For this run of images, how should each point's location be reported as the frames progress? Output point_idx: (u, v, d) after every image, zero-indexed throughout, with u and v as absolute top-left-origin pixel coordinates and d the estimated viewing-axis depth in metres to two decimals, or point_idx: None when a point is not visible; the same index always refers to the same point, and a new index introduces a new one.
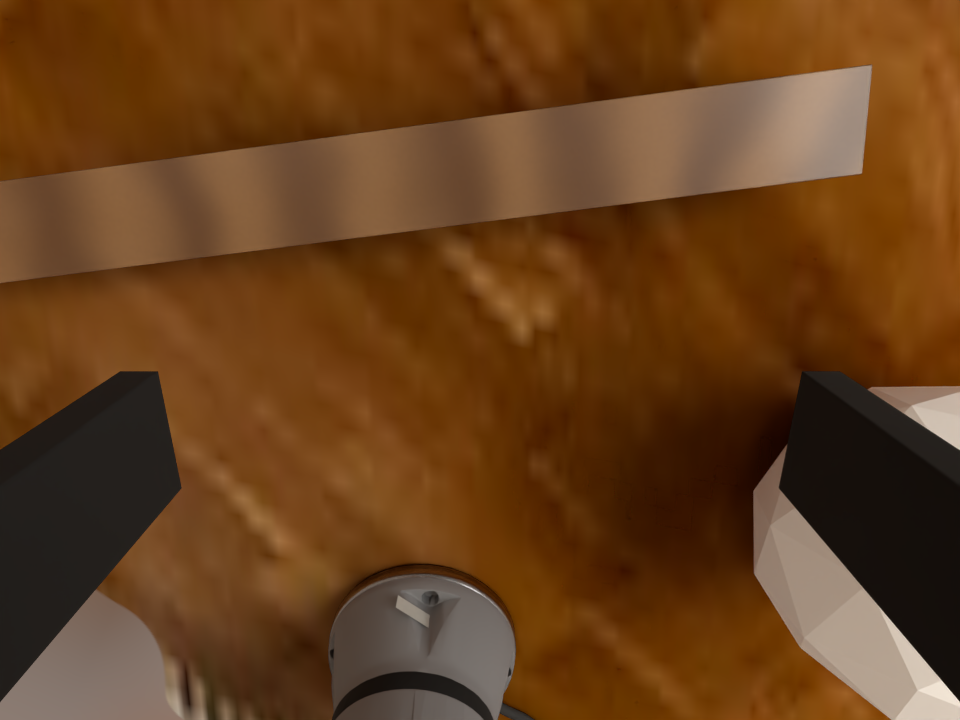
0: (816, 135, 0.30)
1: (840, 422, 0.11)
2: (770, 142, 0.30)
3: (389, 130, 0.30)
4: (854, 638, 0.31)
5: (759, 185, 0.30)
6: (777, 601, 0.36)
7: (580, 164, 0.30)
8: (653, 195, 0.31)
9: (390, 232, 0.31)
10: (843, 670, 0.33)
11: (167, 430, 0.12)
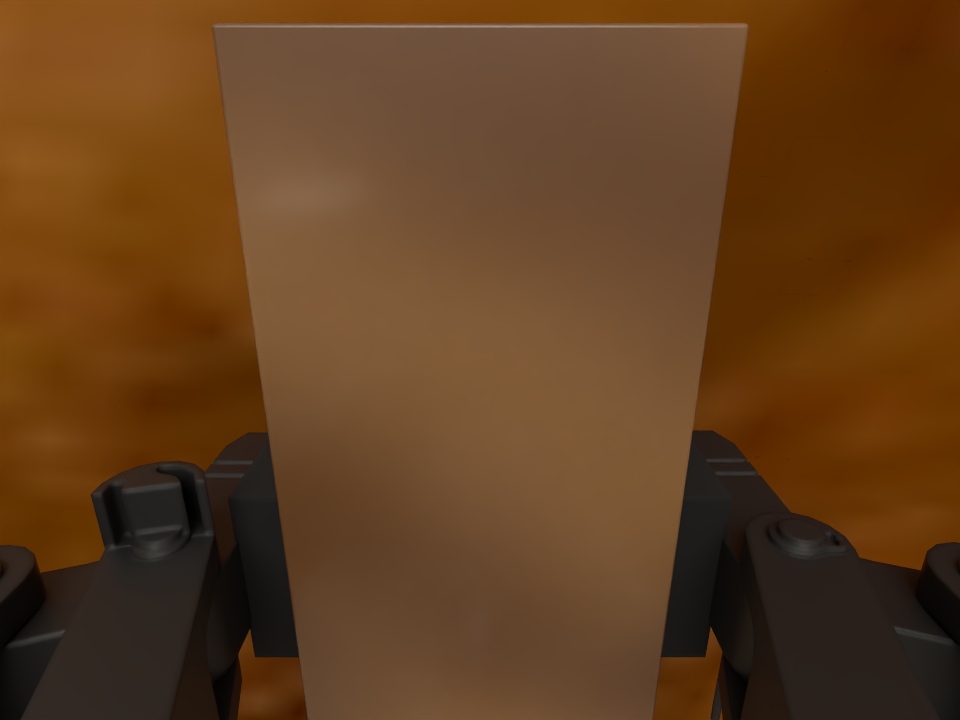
0: (516, 280, 0.06)
1: None
2: (513, 463, 0.07)
3: None
4: None
5: (678, 496, 0.07)
6: None
7: None
8: None
9: None
10: None
11: None
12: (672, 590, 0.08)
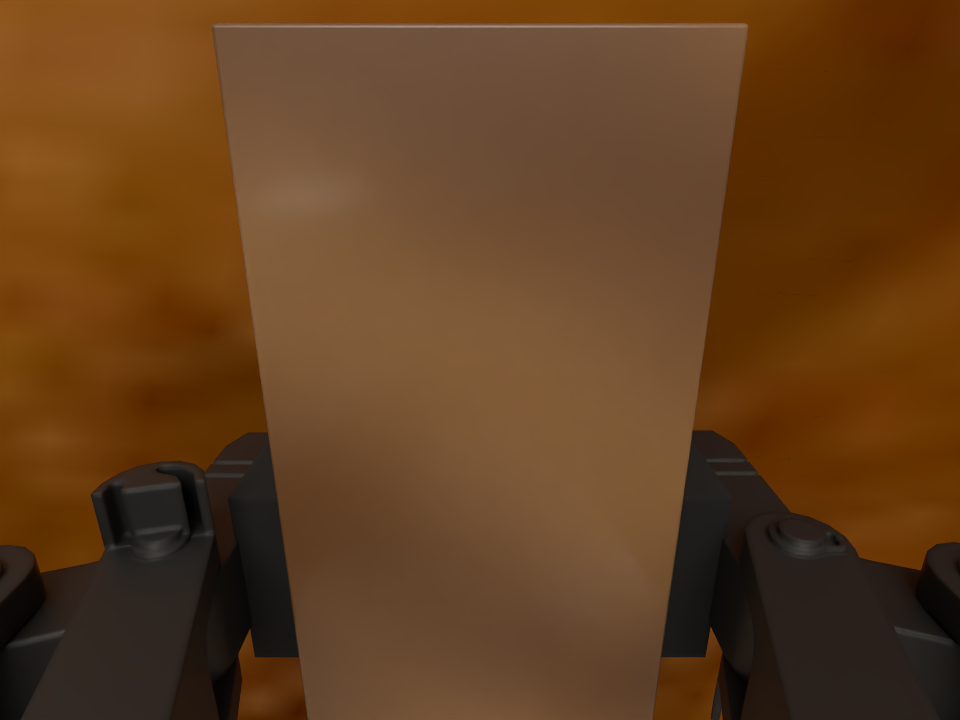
0: (515, 280, 0.06)
1: None
2: (514, 463, 0.07)
3: None
4: None
5: (678, 496, 0.07)
6: None
7: None
8: None
9: None
10: None
11: None
12: (672, 590, 0.08)
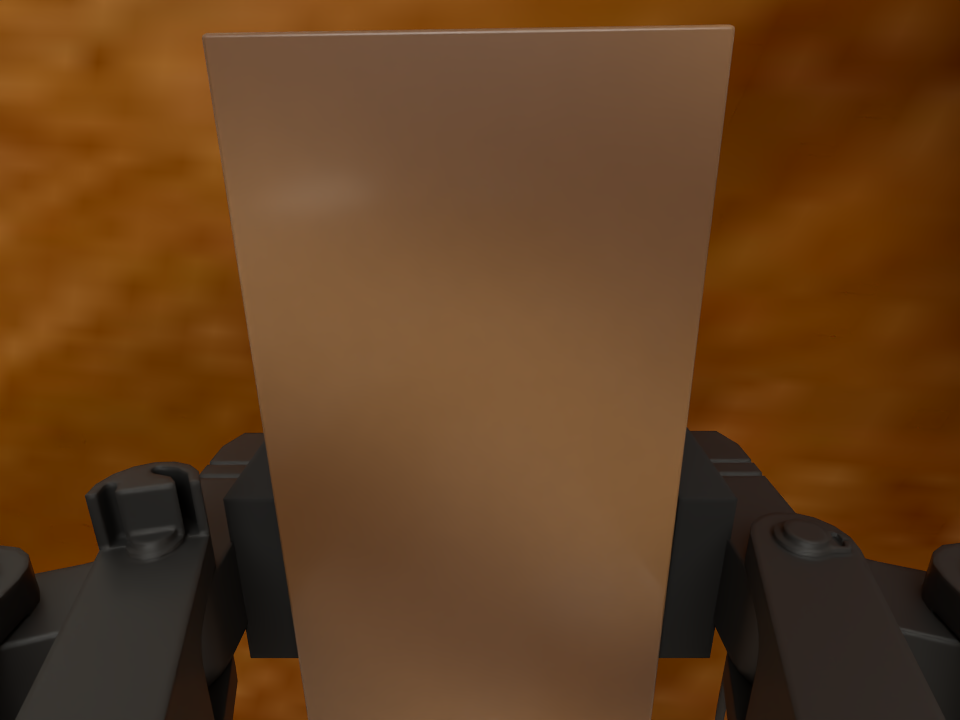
0: (505, 284, 0.06)
1: None
2: (508, 465, 0.07)
3: None
4: None
5: (672, 498, 0.07)
6: None
7: None
8: None
9: None
10: None
11: None
12: (677, 591, 0.08)
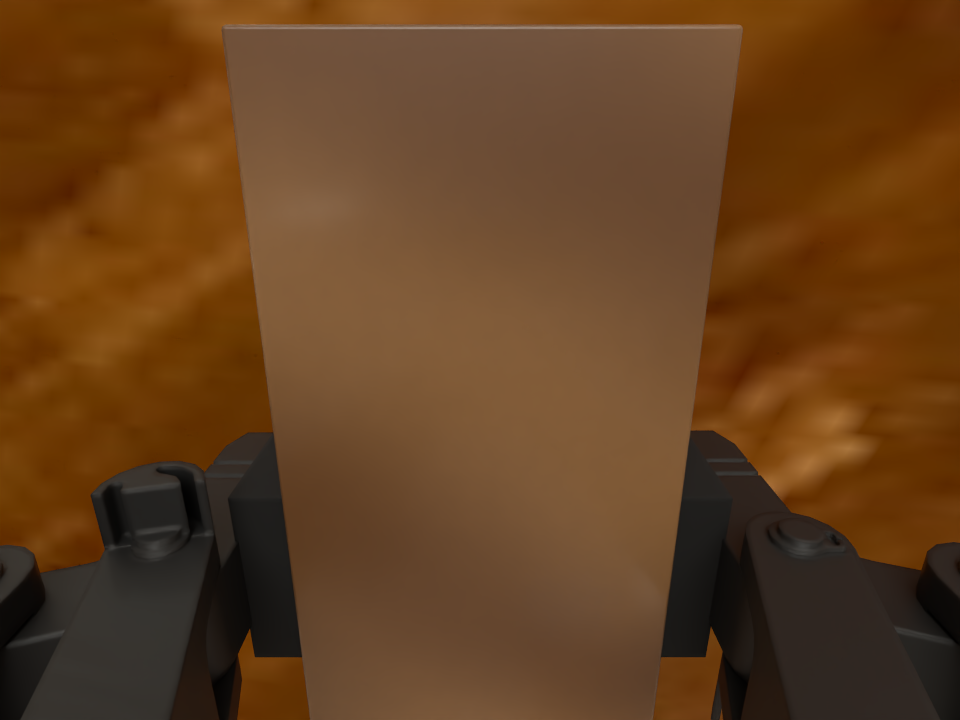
0: (516, 276, 0.07)
1: None
2: (515, 458, 0.07)
3: None
4: None
5: (677, 491, 0.07)
6: None
7: None
8: None
9: None
10: None
11: None
12: (672, 590, 0.08)
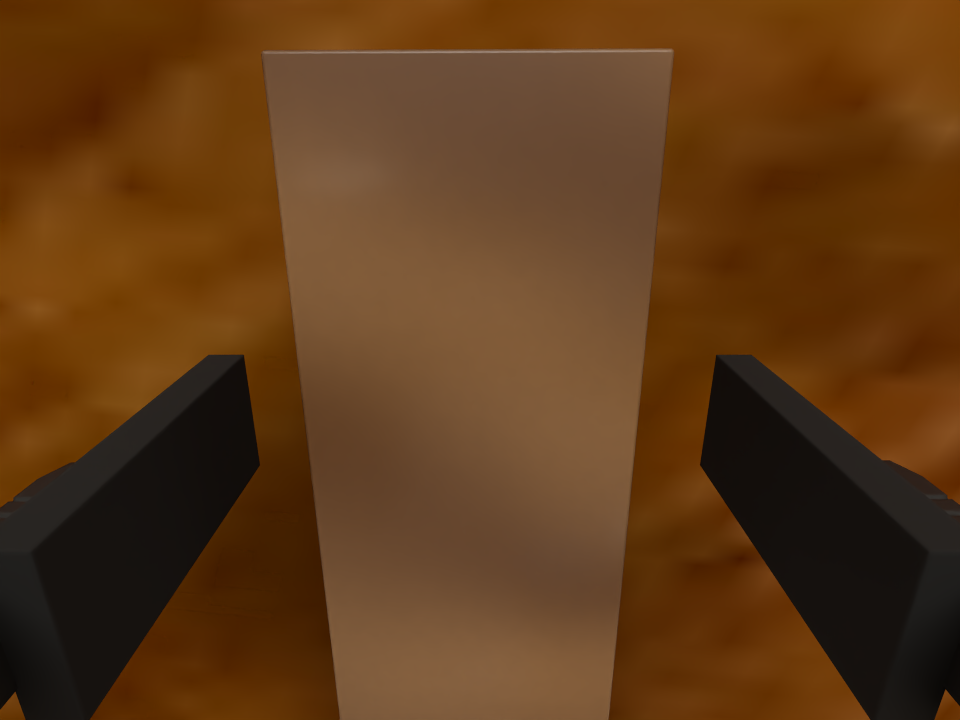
0: (497, 250, 0.08)
1: (742, 399, 0.12)
2: (498, 402, 0.09)
3: None
4: None
5: (632, 429, 0.09)
6: None
7: None
8: (598, 692, 0.11)
9: None
10: None
11: (249, 410, 0.13)
12: (908, 653, 0.07)
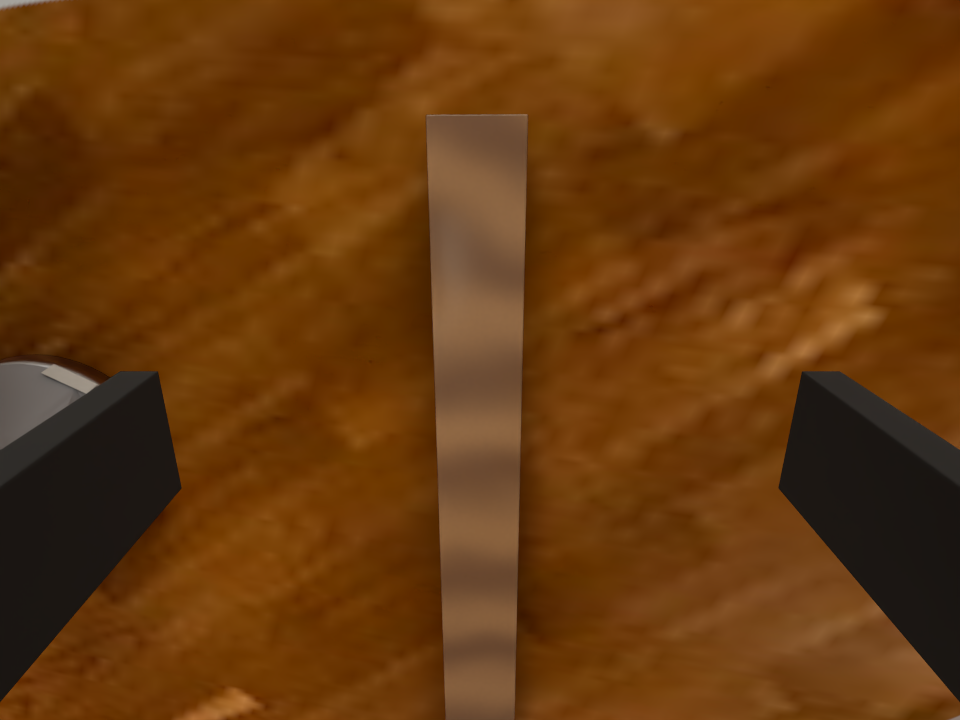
0: (484, 166, 0.30)
1: (840, 421, 0.11)
2: (485, 212, 0.31)
3: (439, 515, 0.38)
4: None
5: (524, 220, 0.31)
6: None
7: (483, 379, 0.35)
8: (518, 319, 0.33)
9: (518, 526, 0.38)
10: None
11: (167, 430, 0.12)
12: None
